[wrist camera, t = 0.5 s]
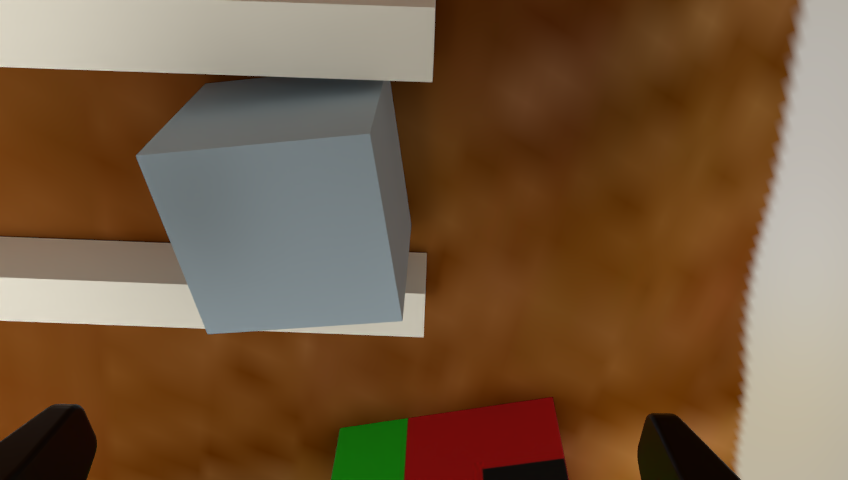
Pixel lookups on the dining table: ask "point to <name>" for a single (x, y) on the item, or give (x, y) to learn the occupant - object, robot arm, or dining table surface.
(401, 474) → the puzzle toy
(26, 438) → the robot arm
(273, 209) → the block
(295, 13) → the chute
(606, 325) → the dining table surface
